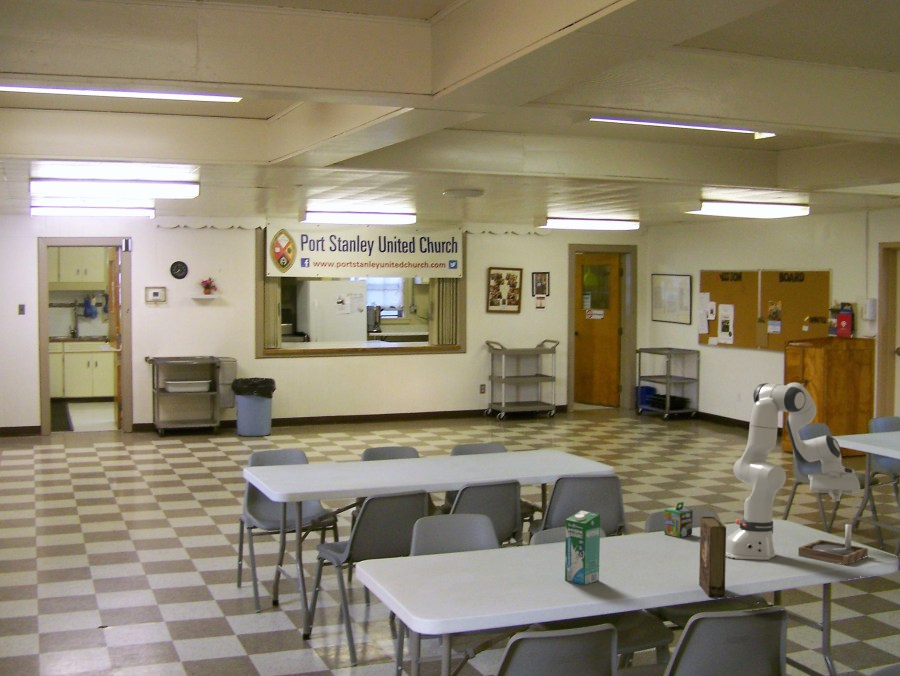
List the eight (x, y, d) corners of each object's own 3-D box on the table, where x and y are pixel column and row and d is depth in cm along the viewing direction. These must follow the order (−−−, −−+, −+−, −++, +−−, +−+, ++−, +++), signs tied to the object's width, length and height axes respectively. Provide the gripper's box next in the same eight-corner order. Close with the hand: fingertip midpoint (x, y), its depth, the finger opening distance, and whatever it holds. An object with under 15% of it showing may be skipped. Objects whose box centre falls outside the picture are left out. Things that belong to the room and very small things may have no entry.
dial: (824, 557, 394) (825, 529, 394) (805, 547, 410) (805, 521, 410) (862, 556, 397) (862, 529, 396) (841, 546, 412) (841, 520, 412)
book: (698, 584, 361) (699, 516, 360) (713, 584, 360) (714, 516, 360) (709, 597, 344) (710, 526, 343) (724, 597, 344) (726, 526, 343)
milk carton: (564, 580, 363) (565, 513, 362) (579, 575, 370) (580, 509, 369) (584, 585, 357) (585, 517, 356) (599, 580, 363) (600, 513, 362)
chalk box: (676, 531, 445) (676, 499, 444) (692, 535, 438) (693, 502, 437) (663, 534, 439) (663, 501, 438) (680, 538, 432) (680, 504, 431)
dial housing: (846, 565, 389) (846, 556, 389) (798, 555, 404) (798, 546, 404) (867, 556, 403) (867, 548, 403) (820, 547, 418) (820, 539, 417)
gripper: (808, 468, 427) (811, 495, 418) (858, 470, 423) (862, 497, 414) (806, 476, 432) (809, 503, 422) (856, 478, 427) (860, 505, 418)
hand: (836, 500), depth 418 cm, fingers closed
